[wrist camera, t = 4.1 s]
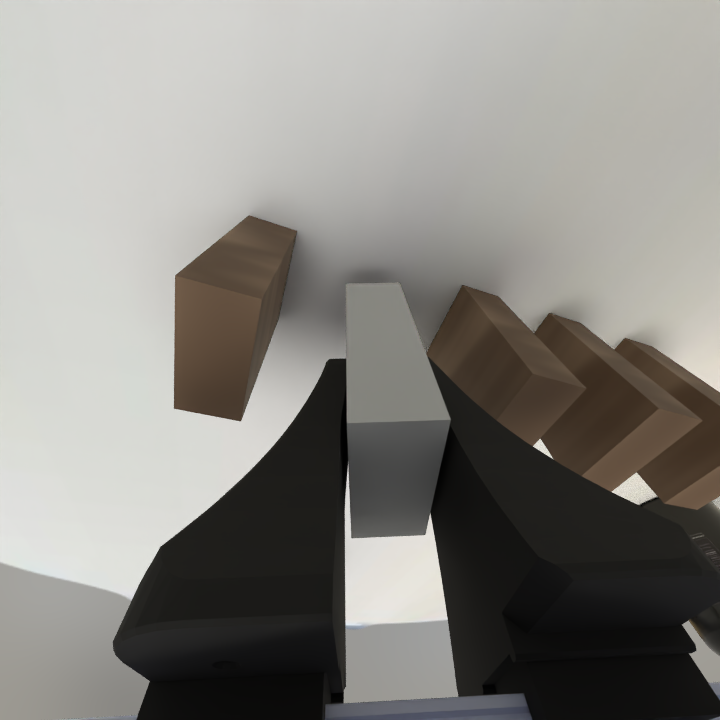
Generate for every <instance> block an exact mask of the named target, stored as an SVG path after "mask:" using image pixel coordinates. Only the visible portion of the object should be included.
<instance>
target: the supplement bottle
mask: <svg viewBox="0 0 720 720" xmlns="http://www.w3.org/2000/svg"><path fill="white" fill-rule="evenodd" d="M641 507H643V508H645V509H648V510H650V511H652V512H654V513H656V514H658V515H660V516H662V517H664V518H667V519H669V520H671V521H673V522H675V523H677V524H679V525H681V527H682V528H683V529H684V530H685V531H686V532H687V533H688V534H689V535H690V537H691V538H692V539H693V540H694V541H695V542H696V543H697V545H698V546H699V547H700V548H701V549H702V550H703V552H704V553H705V554H706V555H707V556H708V557H709V558H710V560H711V561H712V562H713V563H714V564H715V565H716V567H717V568H718V569H719V570H720V509H719V508H718V507H716V506H715V505H714V504H713V503H712V502H709V503H708V504H706V505H704V506H703V507H701V508H699V509H698V510H696V509H691V508H685V507H680V506H675V505H670V504H665V503H663V502H662V501H661V499H660V498H657V499H654V500H652V501H649V502H647V503H645V504H643V505H642V506H641ZM689 622H690V623H691V624H692V626H693V627H694V628H695V630H696V631H697V633H698V634H699V636H700V637H701V638H702V639H703V641H704V642H705V643H706V644H707V646H708V647H709V648H710V649H711V650H712V651H714V652H715V653H716V654H718V655H719V656H720V600H719V601H717V602H716V603H715V604H714V605H712V606H711V607H709V608H707V609H706V610H704V611H703V612H701V613H699V614H698V615H696V616H695V617H693V618H691V619H690V620H689Z"/></svg>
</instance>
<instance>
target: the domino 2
mask: <svg viewBox="0 0 720 720" xmlns="http://www.w3.org/2000/svg"><path fill="white" fill-rule="evenodd" d="M346 377H347V439H348V464H349V489H350V514H351V538H367V537H391V536H414V535H425V534H426V529H427V524H428V520H429V515H430V511H431V506H432V502H433V497H434V493H435V488H436V484H437V479H438V475H439V470H440V466H441V461H442V457H443V452H444V448H445V443H446V439H447V434H448V430H449V425H450V421H451V419H450V416H449V414H448V411H447V408H446V406H445V403H444V400H443V398H442V395H441V392H440V389H439V387H438V384H437V381H436V379H435V376H434V373H433V371H432V368H431V365H430V363H429V360H428V357H427V355H426V352H425V349H424V346H423V344H422V341H421V338H420V336H419V333H418V330H417V328H416V325H415V322H414V320H413V317H412V314H411V312H410V309H409V306H408V303H407V301H406V298H405V295H404V293H403V290H402V287H401V285H400V283H351V284H346Z"/></svg>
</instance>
